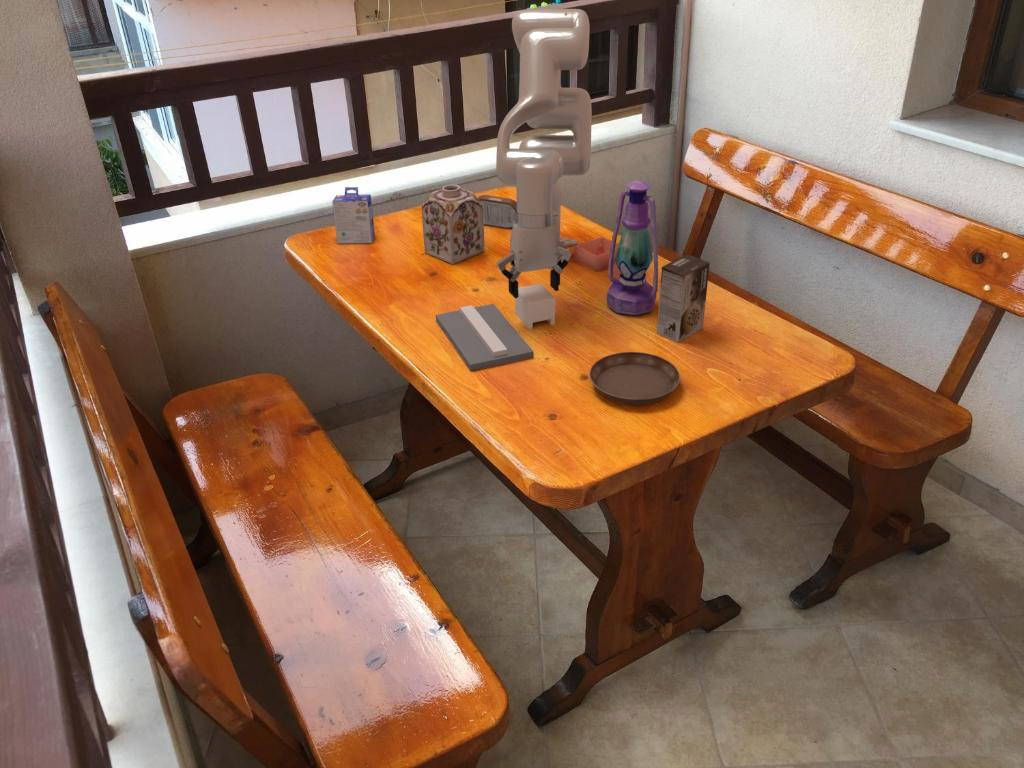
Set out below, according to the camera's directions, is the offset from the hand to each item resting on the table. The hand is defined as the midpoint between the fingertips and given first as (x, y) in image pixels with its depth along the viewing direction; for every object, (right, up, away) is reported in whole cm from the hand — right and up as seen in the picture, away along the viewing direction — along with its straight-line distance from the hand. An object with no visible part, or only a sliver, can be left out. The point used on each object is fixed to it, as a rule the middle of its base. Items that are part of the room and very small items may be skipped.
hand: (534, 292), depth 191 cm
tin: (-9, +24, +52) cm, 58 cm away
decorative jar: (-20, +14, +37) cm, 45 cm away
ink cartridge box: (-48, +19, +45) cm, 68 cm away
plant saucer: (+19, -21, -20) cm, 35 cm away
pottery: (+20, +9, +28) cm, 36 cm away
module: (0, -6, +4) cm, 7 cm away
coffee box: (+32, -9, -2) cm, 33 cm away
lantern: (+23, -2, +9) cm, 25 cm away
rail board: (-11, -10, -3) cm, 16 cm away
